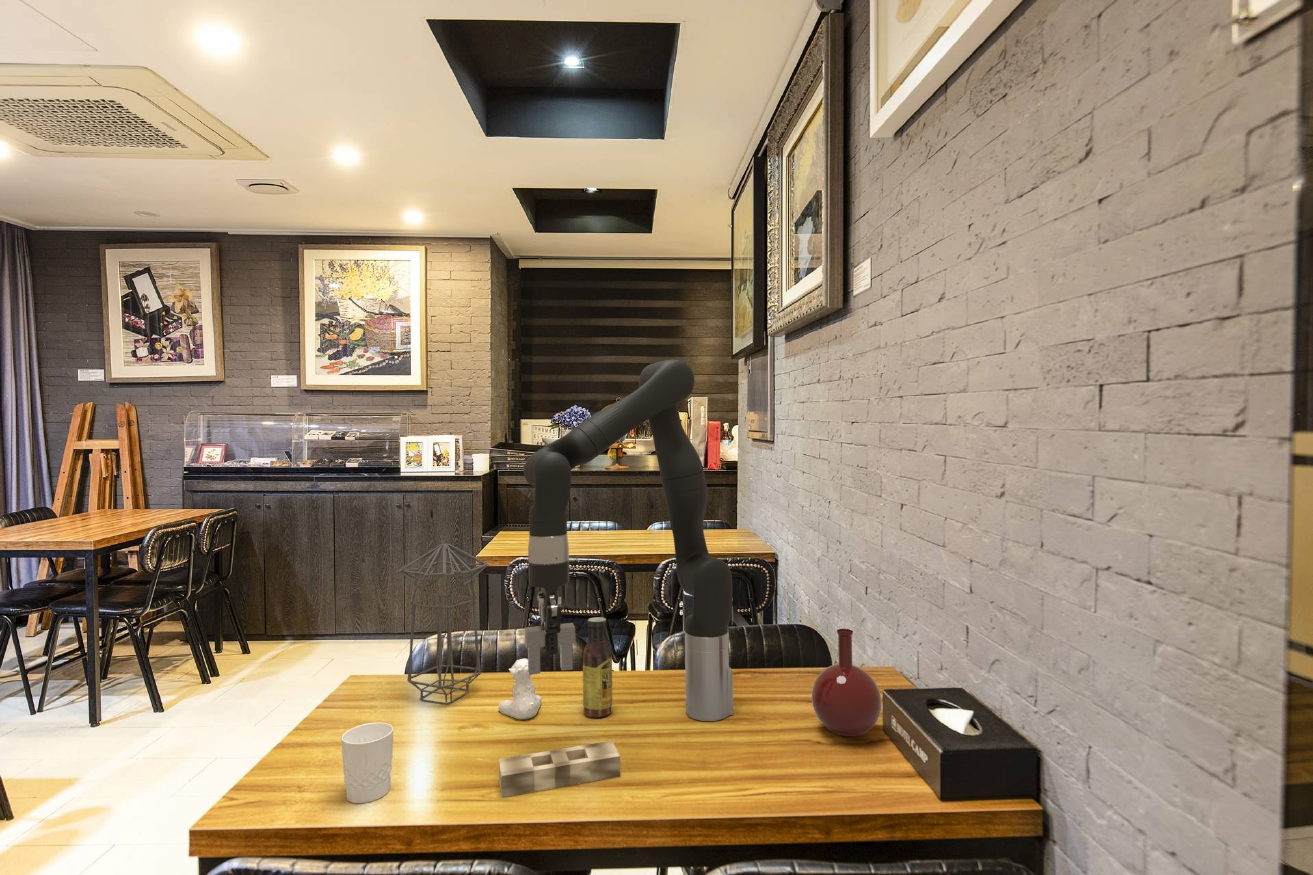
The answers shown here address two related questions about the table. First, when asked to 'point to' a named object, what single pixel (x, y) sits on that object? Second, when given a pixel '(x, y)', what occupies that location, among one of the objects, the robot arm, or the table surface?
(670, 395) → the robot arm
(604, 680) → the sauce bottle
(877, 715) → the round-bottom flask
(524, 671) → the seated beast figurine
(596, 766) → the rail
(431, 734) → the table surface
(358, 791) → the white cup
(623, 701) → the table surface
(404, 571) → the geometric lantern
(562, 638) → the grey notched block
